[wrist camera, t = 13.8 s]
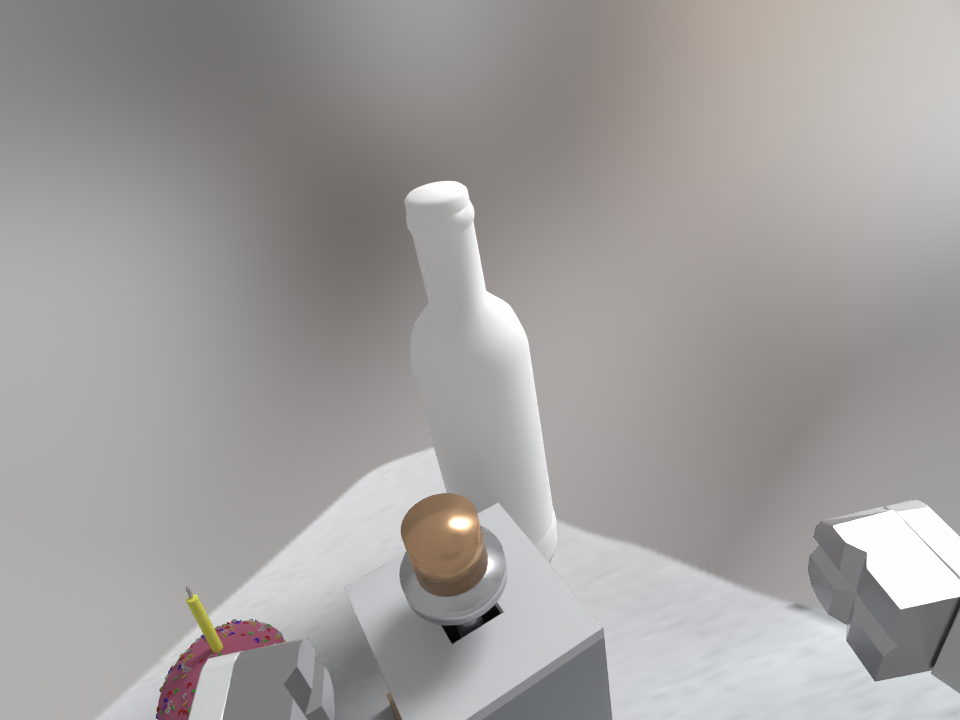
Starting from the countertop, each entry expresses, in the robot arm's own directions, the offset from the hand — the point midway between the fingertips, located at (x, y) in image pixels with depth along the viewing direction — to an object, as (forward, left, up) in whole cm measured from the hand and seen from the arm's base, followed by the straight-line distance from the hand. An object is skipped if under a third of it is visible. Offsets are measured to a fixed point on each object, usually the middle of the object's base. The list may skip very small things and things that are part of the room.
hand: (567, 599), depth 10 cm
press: (-2, -14, -32) cm, 35 cm away
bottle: (-10, -26, -32) cm, 43 cm away
